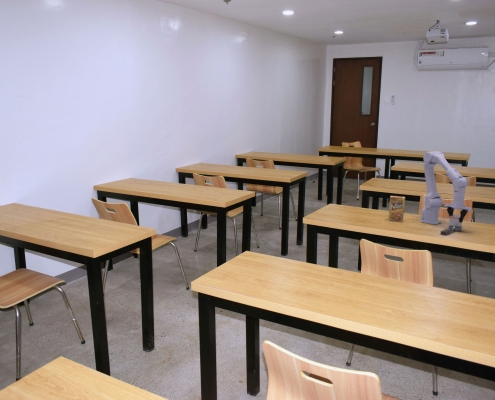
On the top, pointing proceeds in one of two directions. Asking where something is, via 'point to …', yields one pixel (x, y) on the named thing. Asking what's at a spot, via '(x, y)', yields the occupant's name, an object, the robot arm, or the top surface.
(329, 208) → the top surface
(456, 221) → the red-striped grey block
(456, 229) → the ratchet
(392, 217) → the candy box
